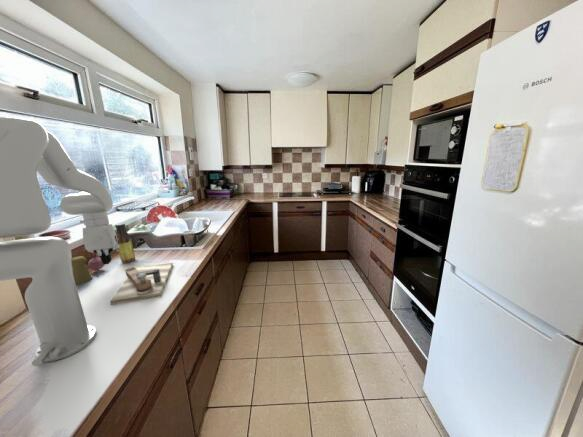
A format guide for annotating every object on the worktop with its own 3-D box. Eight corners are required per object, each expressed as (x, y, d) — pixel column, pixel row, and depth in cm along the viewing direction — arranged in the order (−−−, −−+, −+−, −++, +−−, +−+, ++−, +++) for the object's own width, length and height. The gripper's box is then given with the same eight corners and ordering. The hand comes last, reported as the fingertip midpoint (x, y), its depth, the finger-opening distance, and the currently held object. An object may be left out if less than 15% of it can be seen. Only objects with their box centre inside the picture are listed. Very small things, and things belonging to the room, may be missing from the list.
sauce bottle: (138, 260, 122) (130, 223, 117) (124, 264, 117) (116, 226, 112) (131, 257, 125) (124, 221, 120) (118, 261, 120) (110, 224, 115)
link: (153, 287, 90) (151, 274, 89) (139, 293, 87) (136, 279, 85) (136, 271, 105) (134, 259, 103) (123, 275, 101) (120, 263, 100)
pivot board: (160, 296, 89) (157, 281, 87) (110, 304, 84) (107, 289, 83) (172, 265, 115) (170, 253, 113) (135, 270, 110) (132, 258, 108)
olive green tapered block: (81, 284, 98) (74, 260, 96) (70, 283, 100) (63, 259, 97) (95, 277, 104) (89, 254, 101) (84, 276, 105) (78, 254, 102)
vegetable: (105, 266, 115) (100, 247, 112) (107, 270, 111) (102, 251, 108) (89, 271, 111) (84, 251, 108) (90, 275, 106) (85, 255, 104)
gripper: (68, 226, 88) (81, 269, 94) (114, 222, 93) (124, 264, 98) (79, 220, 95) (90, 261, 100) (121, 217, 100) (130, 256, 105)
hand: (107, 262), depth 99 cm, fingers closed
